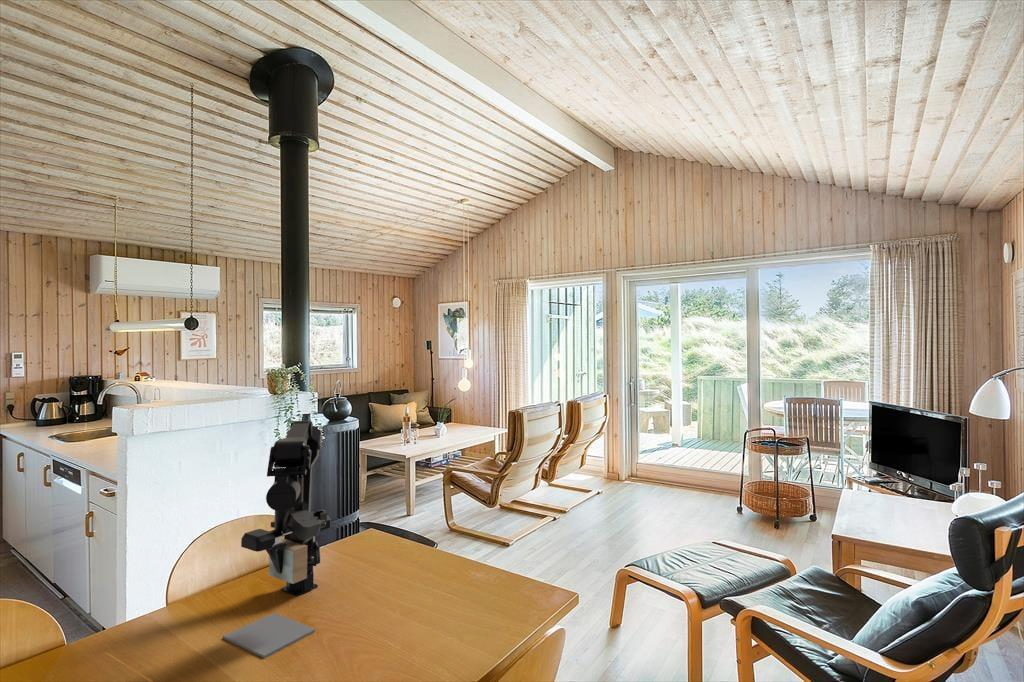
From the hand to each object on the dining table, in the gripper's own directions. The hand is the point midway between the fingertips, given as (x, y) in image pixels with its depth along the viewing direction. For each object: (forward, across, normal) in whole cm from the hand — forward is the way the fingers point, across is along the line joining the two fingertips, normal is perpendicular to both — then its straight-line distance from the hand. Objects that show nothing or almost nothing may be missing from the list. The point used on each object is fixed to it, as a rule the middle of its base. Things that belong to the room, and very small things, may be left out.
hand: (287, 569), depth 117 cm
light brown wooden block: (+2, 0, 0) cm, 2 cm away
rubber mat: (+12, -4, 0) cm, 13 cm away
